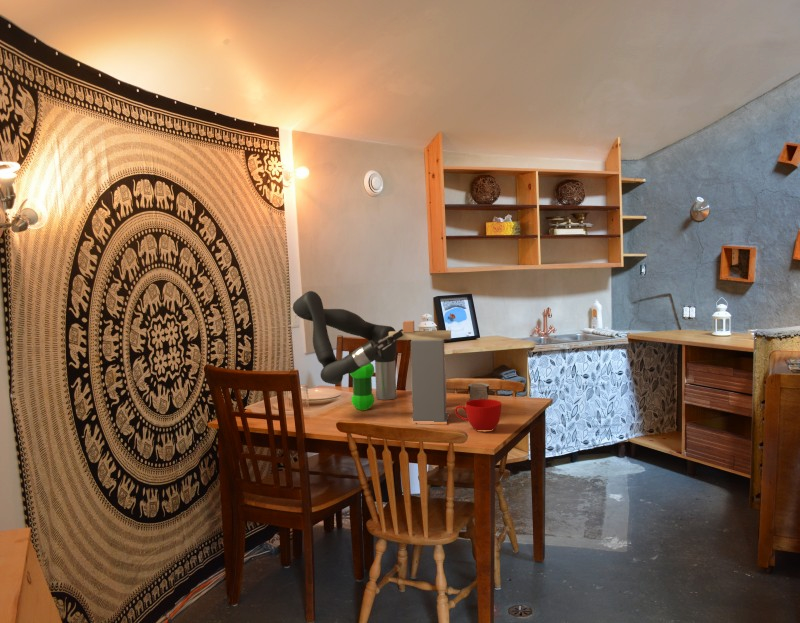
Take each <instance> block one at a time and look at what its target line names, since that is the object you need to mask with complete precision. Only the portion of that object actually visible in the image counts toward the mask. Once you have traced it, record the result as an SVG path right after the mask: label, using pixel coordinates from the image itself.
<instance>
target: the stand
mask: <svg viewBox="0 0 800 623" xmlns="http://www.w3.org/2000/svg"><path fill="white" fill-rule="evenodd" d="M410 357H411V358H410V366H411V368H410V369H412V374H411V402H412V401H413V406H412V417H411V419H412V418H413V421H434V422H447V423H448V421H447V419H448V420H449V416H448V414H449V412H447V404H446V401H447V394H446V395H445V358H446V357H445V339H430V340H411V341H410ZM449 415H450V414H449Z"/></svg>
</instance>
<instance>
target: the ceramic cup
mask: <svg viewBox="0 0 800 623" xmlns="http://www.w3.org/2000/svg"><path fill="white" fill-rule="evenodd" d="M458 409H463V410H464V412H465V413H466V417H467V418H466V417H463V416H461V415H460V414H459V412H458ZM454 412H455V415H456V417H457V418H459V419H461V420H463V421H467V422H468V423H469V424H470V426H471V427H472V428H473V429H474V430H475V429H476V430H492V429H493V430H495V429H496V427H497V426H498V425H499V422H500V419H501V416H502V402H501V401H499V400H497V399H496V400H495V399H491V398H488V399H476V400H470V401H469V400H468V401H466V402H465V406H463V405H457V406H456V407H455V409H454Z"/></svg>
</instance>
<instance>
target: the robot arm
mask: <svg viewBox="0 0 800 623" xmlns="http://www.w3.org/2000/svg"><path fill="white" fill-rule="evenodd" d="M292 310H293V312H294V314H296V316H297V317H299V318H301V319H302V320H307V321H309V322H310V321H311V322H312V328H313V330H312V346H313V350H314V353H315V355H316V356H315V357H316V359H317V361H318V363H320V364H321V365H322V369H321V371H320V379H321V380H322V381H323V382H324V383H327V384H331V385H338V384H340V383H341V382H342V381H343V379H344V376H346V375H348V374H350V373H353V372H355V371H356V370H358V369H360V368H361V367H363V366H366V365H368V364H369V363H371V364H372V362H374V374H375V398H376V399H377V400H379V401H380V400H382V401H384V400H385V401H387V400H394V399H396V398H397V378H396V376H397V375H396V374H397V373H396V356H397V353H398V352H397V350H398V340H397V339H398V338H400V337H402V336H403V333H402V331H403V328H401V329H399V330H398V331H399V332H397V333H395V334H394V335H393V336H390V337H389V332H390V331H396V329H395V328H394V327H392V326H390V325H384V324H383V325H382V324H381V325H380V324H374V323H371V322H369V321H366V320H364V319H363V317H361V316H360V315H358V314H356V313H355V312H352V311H350V310H347V309H344V308H324V304H323V301H322V298H321V296H320V295H319V294H318V293H317V292H315V291H313V290H309V291H306V292H305V293H304V294H302V295H301V296H300V297H298V299H296V300H295V301H294V303H293V304H292ZM328 327H331V328H333V329H336V330H338V331H341V332H343V333H346V334H349V335H352V336H357V337H361V338H362V339H364V340H367V342H366V343H364V344H362V345H360V346H359V347H358V348H356V349H354V350H353V351H352V352H351V353H348V354H347V355H346V356H344V357H343V358H340V359H337V358H336V356H335V353H334V349H333V345H332V344H331V343H332V342H331V340H330V336H329V332H328Z"/></svg>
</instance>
